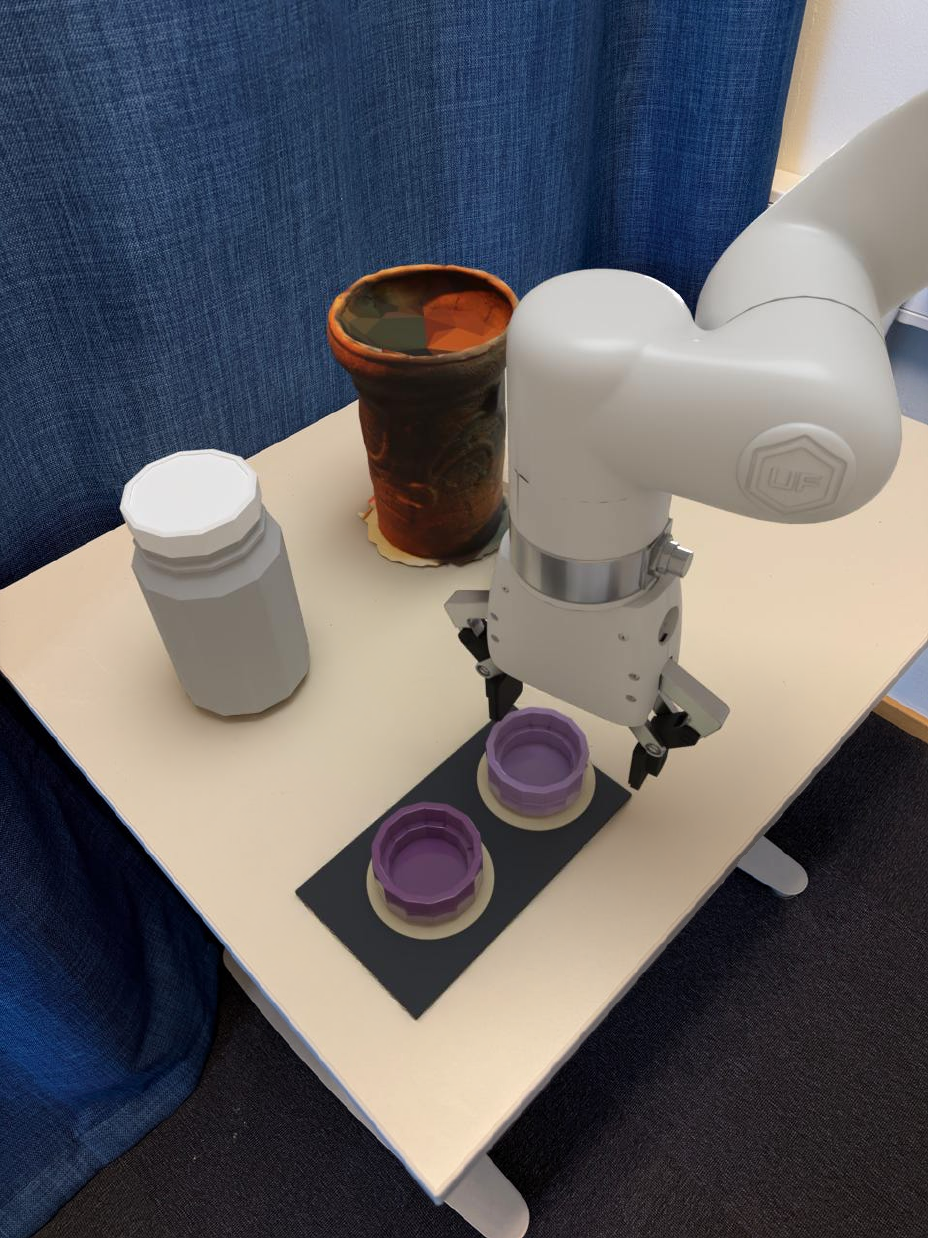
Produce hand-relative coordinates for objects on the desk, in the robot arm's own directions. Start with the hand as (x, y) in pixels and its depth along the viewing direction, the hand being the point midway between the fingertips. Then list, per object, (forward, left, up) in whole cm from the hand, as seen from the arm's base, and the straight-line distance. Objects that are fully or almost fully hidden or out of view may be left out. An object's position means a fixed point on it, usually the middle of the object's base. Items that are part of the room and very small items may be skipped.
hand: (572, 737), depth 57 cm
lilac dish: (+1, -2, -6) cm, 6 cm away
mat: (+8, 0, -6) cm, 10 cm away
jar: (+15, -21, -6) cm, 26 cm away
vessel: (-6, -29, -6) cm, 30 cm away
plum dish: (+11, +1, -6) cm, 13 cm away
